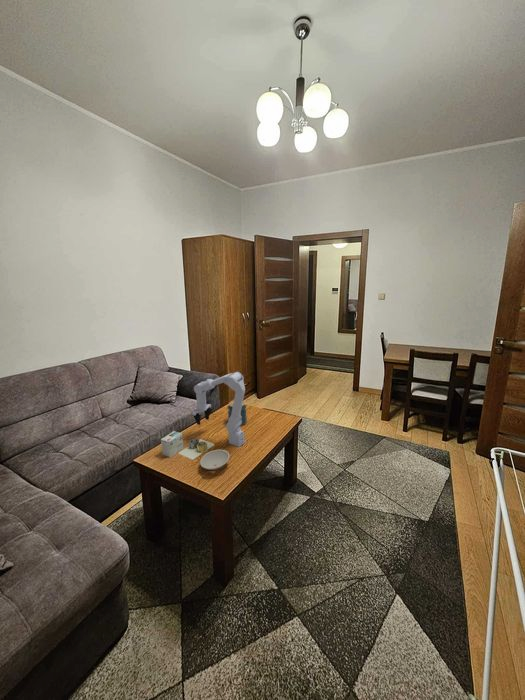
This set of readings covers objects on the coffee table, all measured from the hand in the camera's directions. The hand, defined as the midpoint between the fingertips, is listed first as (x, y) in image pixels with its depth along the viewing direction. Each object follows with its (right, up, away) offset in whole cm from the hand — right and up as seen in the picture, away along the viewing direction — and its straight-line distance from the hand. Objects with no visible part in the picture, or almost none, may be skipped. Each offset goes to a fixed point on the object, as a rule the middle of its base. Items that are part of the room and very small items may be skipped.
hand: (202, 421), depth 183 cm
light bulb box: (-14, -14, -15) cm, 25 cm away
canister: (+20, -5, +20) cm, 29 cm away
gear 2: (+3, -12, -15) cm, 19 cm away
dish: (+13, -17, -29) cm, 36 cm away
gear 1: (-3, -12, -11) cm, 17 cm away
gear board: (-1, -13, -13) cm, 19 cm away
